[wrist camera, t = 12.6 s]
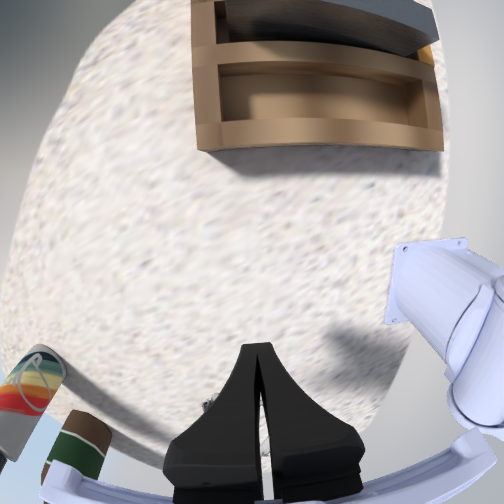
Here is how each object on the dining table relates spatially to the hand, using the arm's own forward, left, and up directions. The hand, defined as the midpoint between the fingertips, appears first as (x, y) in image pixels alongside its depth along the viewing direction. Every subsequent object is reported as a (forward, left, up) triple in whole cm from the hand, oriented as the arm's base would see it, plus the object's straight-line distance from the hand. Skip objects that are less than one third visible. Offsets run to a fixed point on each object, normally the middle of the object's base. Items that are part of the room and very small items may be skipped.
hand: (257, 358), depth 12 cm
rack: (-6, -19, -9) cm, 22 cm away
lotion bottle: (+26, +10, -10) cm, 29 cm away
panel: (-6, -18, -9) cm, 21 cm away
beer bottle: (+26, +23, -10) cm, 36 cm away
